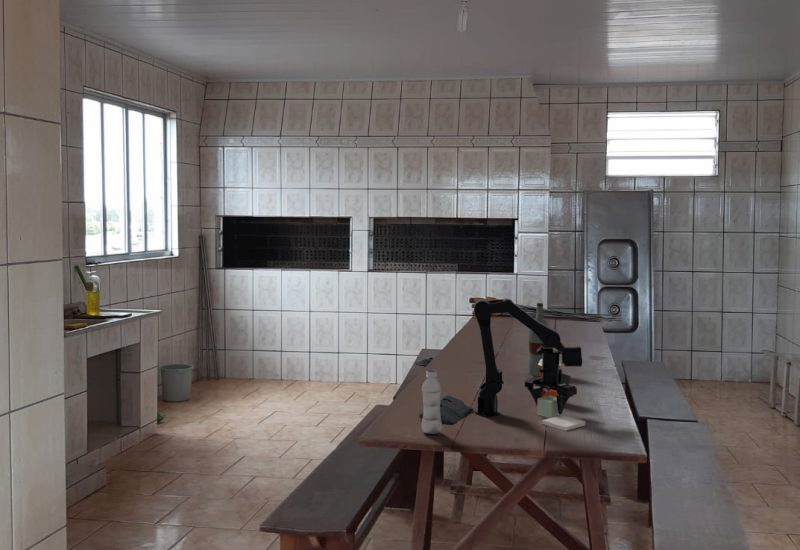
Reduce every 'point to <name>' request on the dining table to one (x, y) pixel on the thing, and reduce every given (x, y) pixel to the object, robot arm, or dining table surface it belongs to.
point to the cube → (547, 407)
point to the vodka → (535, 344)
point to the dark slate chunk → (452, 410)
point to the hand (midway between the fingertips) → (549, 411)
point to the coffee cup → (546, 391)
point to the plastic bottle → (431, 403)
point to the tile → (563, 422)
